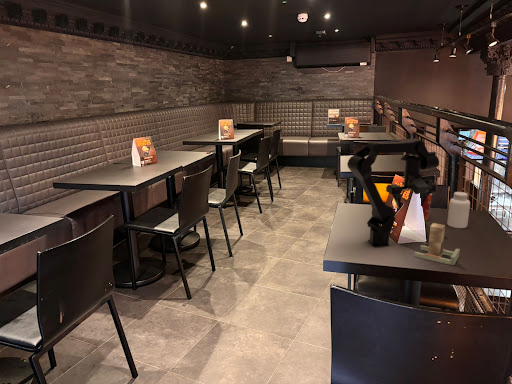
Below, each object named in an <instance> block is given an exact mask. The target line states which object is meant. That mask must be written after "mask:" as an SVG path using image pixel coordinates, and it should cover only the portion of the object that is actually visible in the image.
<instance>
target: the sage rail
mask: <svg viewBox="0 0 512 384" xmlns="http://www.w3.org/2000/svg"><path fill="white" fill-rule="evenodd" d="M428 248H429V245H428V246H427V245H424V244H423V245H422V244H421V245H420V249H419V250H421V251H425V252H427V253H422V252H418V251H414V255H413V257H414V258H415V257H416V258H420V259H425V260H429V261H431V262H432V261H433V262H437V263H441V264H444V265H445V264H446V265H450V266H455V265H456V262H457V261H458V259H459V258H460V250H461V249H460V248H455V250H454V251H453V250H447V249H445V248H443V252H442V256H443V255H445V256H448V257H450V259H449V258H445V257H442V256H441V257H440V256H436V255H431V254H428Z"/></svg>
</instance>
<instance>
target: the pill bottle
mask: <svg viewBox="0 0 512 384" xmlns="http://www.w3.org/2000/svg"><path fill="white" fill-rule="evenodd" d="M468 197H469V194H468V193H467V192H462V191H454V193H453V197H452V198H451V199H449V205H448V213H447V226H449V227H451V228H455V229H466V228H467V227H468V222H469V214H470V208H471V201H470V200H469V199H468Z"/></svg>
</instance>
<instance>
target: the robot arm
mask: <svg viewBox="0 0 512 384" xmlns="http://www.w3.org/2000/svg"><path fill="white" fill-rule="evenodd" d="M390 153H391V154H392V153H403V154H404V153H405V154H404V155H403V156H402V157H401V158H400V160H401V161H404V162H405V163H404V164H405V165H404V172H402V175H403V176H404V178H403V179H404V181H403V182H402V186H401V185H398V184H396V183H395V184H394V183H393V184H387V186H386V187H385V188H386V189H385V191H386V192H387V193H388V194H390V195H392V197H393V200H394V202H395V204H396V207H397V209H398V210H401V206H402V205H401V204H402V197H403V194H402V193H403V192H405V191H406V192H407V191H413V193H414V195H415V194H419V193H420V198H421V206H423V204H424V202H425V200H426V198H427V197H428V196H429V195H430V194H432V195H433V194H434V193H435V192H437V191H438V190H437V189H438V186H437V184H435V183H434V182H433V180H431V179H424V180H423V174H421V170H423V171H424V170H433V169H434V170H435V169H436V168H438V167H439V165H440V159H439V157H438V155H437V153H436V152H435V151H428V149H427V147H426V144H425V142H424V140H422V139H414V138H407V139H403V140H401V141H393V142H392V141H390V142H386V141H384V142H374V141H370V142H368V143H367V144H366V145H365V146H363V148H361V149H360V150H358V151H356V152H355V153H354V154H353V155H352V156H350V158H349V159H348V161H347V163H346V164H347V168H348V169H349V171H350V172H351V173H352V174H353V175H354V176H355V177H356V178H357V179H358V181H359V182H360V185H361V187H362V190H363V192H364V193H365V196H366V197H367V200H368V202H369V204H370V206H371V208H372V209H371V217H370V218H369V219H368V221H367V224H366V225H367V227H368V228H370V229H369V239H368V240H367V242H368V243H369V244H370V245H371V246H372V247H374V248H378V247H379V248H380V247H389V246H390V241H389V240H390V233H391V232H392V230H393V229H392V228H393V227H394V224H395V221H396V217H395V216H396V214H395V213H394V209H393V208H392V206H390V205H387V204H385V203H384V201H383V198H382V196H381V194H380V192H379V189H378V188H377V185H376V183H375V181H374V179H373V177H372V173H373V168H372V165H374V163H375V162H376V161H377V157H378V155H379V154H390Z"/></svg>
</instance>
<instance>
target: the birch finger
mask: <svg viewBox="0 0 512 384" xmlns="http://www.w3.org/2000/svg"><path fill="white" fill-rule="evenodd" d="M445 229H446V225H445V224H440V223H435V222H434V223H433V222H432V224H430V228H429V237H428V238H429V239H428V247H429V248H428V251H427V254H431V255H436V256H440V257H441V258H442V256H443V254H442V252H443V249H444V244H445V240H444V239H445Z"/></svg>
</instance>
